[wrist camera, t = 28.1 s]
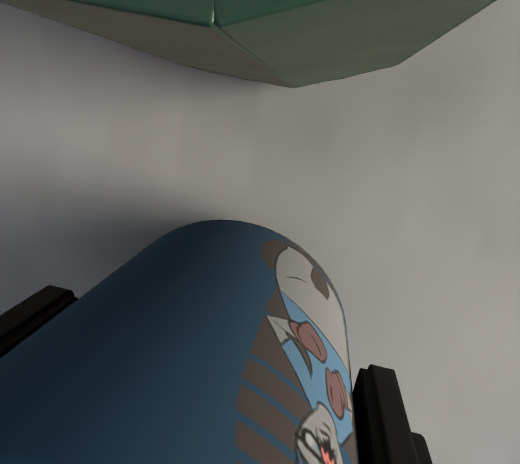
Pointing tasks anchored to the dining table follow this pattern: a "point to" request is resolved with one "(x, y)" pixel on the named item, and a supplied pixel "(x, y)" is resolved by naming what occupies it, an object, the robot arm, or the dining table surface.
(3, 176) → the dining table surface
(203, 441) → the soda can
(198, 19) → the pot
